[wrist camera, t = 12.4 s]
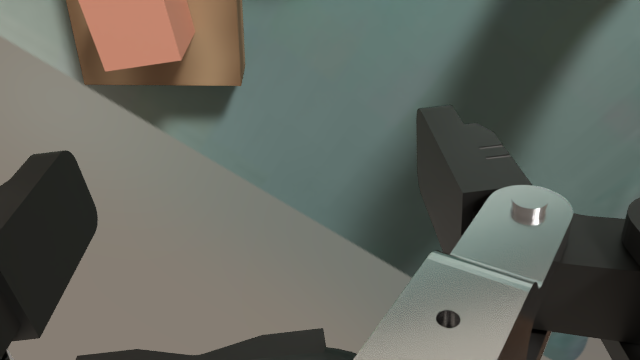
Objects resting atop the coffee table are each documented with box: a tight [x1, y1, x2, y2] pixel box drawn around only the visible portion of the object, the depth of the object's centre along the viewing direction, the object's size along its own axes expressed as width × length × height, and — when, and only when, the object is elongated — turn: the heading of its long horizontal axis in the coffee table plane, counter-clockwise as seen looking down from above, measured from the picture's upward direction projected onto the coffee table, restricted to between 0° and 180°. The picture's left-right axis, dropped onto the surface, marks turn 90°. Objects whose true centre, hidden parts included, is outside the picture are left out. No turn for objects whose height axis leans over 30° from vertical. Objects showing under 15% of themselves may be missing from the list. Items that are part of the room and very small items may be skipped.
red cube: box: [78, 0, 195, 72], centre depth 35 cm, size 5×5×6 cm
